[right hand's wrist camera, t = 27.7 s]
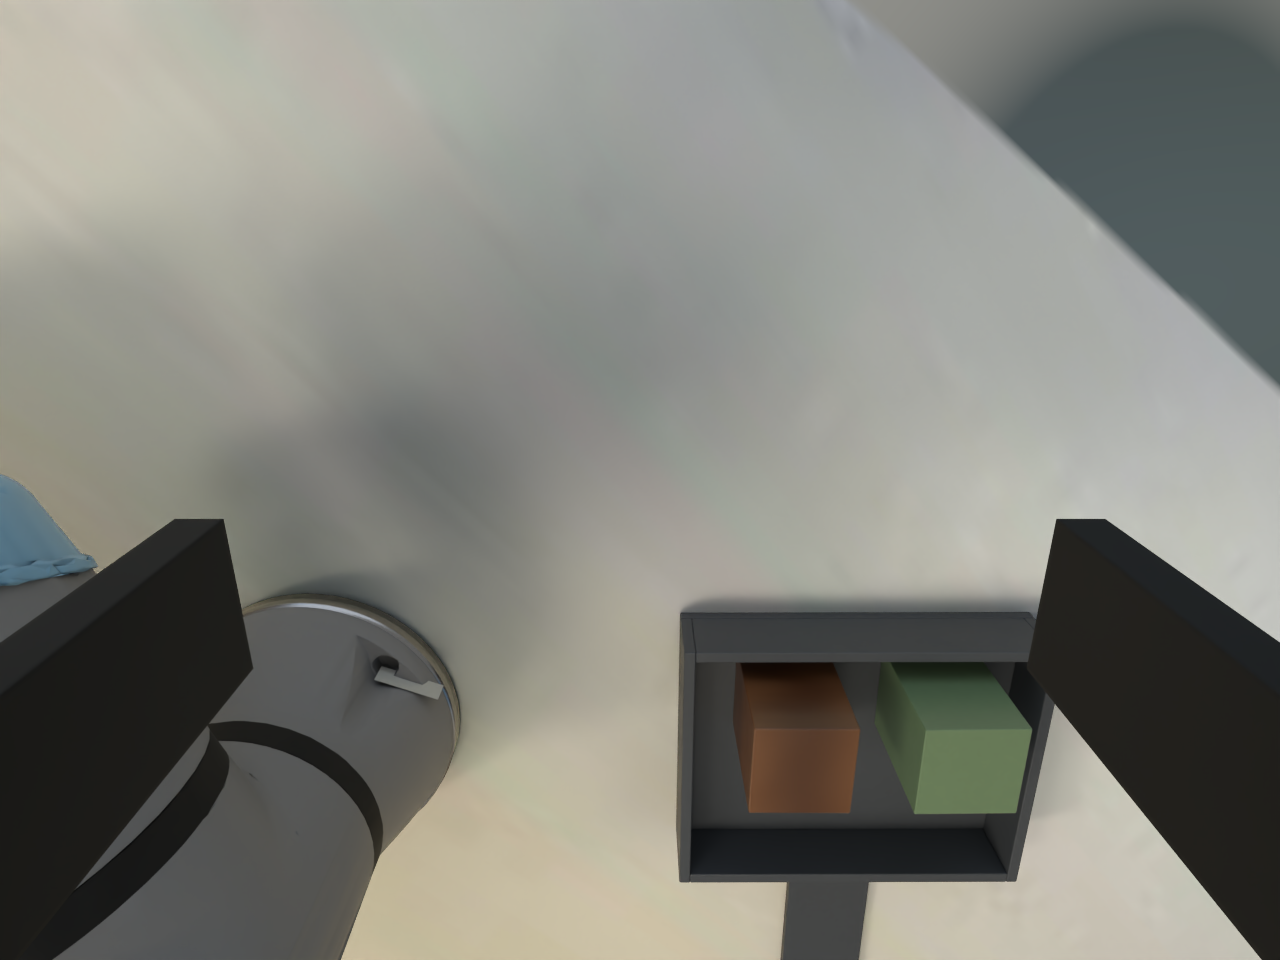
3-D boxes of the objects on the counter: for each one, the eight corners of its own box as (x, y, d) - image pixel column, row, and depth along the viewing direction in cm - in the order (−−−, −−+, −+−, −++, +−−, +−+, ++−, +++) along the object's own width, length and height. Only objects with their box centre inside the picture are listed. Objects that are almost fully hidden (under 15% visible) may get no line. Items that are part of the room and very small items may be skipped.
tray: (672, 1045, 55) (676, 1142, 49) (680, 612, 43) (686, 676, 37) (945, 1044, 55) (980, 1141, 49) (1029, 612, 43) (1088, 675, 37)
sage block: (874, 723, 45) (914, 814, 38) (882, 648, 43) (925, 730, 37) (961, 722, 45) (1016, 813, 38) (973, 647, 43) (1033, 729, 37)
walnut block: (732, 722, 45) (748, 813, 38) (736, 646, 43) (754, 729, 37) (819, 722, 45) (850, 814, 38) (827, 647, 43) (861, 729, 37)
